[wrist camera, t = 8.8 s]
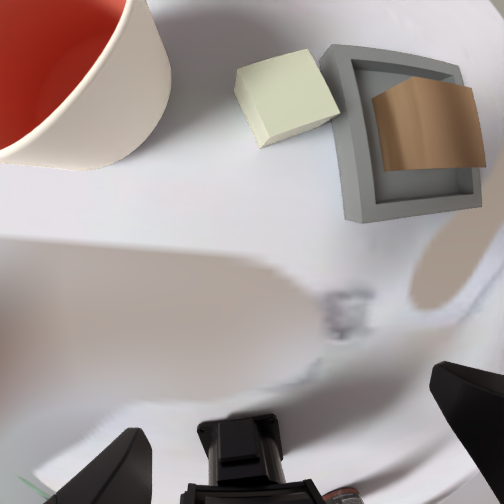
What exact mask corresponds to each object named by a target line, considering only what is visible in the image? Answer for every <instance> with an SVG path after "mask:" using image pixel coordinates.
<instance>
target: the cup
mask: <svg viewBox="0 0 504 504" xmlns="http://www.w3.org/2000/svg"><path fill="white" fill-rule="evenodd" d="M170 90H171V67H170V62H169V59H168V56H167V53H166V51H165V48H164V46H163V43H162V40H161V38H160V35H159V33H158V30H157V28H156V25H155V22H154V20H153V17H152V15H151V12H150V9H149V7H148V4H147V2H146V0H0V164H13V165H25V166H36V167H46V168H56V169H65V170H74V171H88V170H94V169H99V168H102V167H106V166H108V165H111V164H113V163H115V162H117V161H119V160H121V159H123V158H124V157H126V156H127V155H128V154H130V153H131V152H133V151H134V150H135V149H136V148H137V147H139V146H140V145H141V144H142V143H143V142H144V141H145V140H146V138H147V137H148V136H149V135H150V134H151V132H152V131H153V130H154V128H155V127H156V125H157V124H158V122H159V120H160V118H161V117H162V115H163V113H164V110H165V108H166V105H167V102H168V99H169V95H170Z"/></svg>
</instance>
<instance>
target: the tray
mask: <svg viewBox="0 0 504 504" xmlns="http://www.w3.org/2000/svg"><path fill="white" fill-rule="evenodd" d="M319 63H320V67H321V71H322V76H323V78H324V80H325V82H326V84H327V86H328V88H329V90H330V92H331V94H332V96H333V99H334V101H335V103H336V105H337V107H338V109H339V111H340V114H338V115H337V116H335V117H333V118H332V119H331V121H332V127H333V133H334V139H335V145H336V151H337V158H338V165H339V172H340V180H341V188H342V197H343V206H344V215H345V219H346V220H350V221H354V222H358V223H362V224H364V223H371V222H377V221H384V220H391V219H398V218H405V217H412V216H419V215H426V214H433V213H440V212H447V211H455V210H462V209H469V208H477V207H482V196H481V182H480V171H479V167H476V168H444V169H421V170H402V171H387V172H384V167H383V160H382V153H381V147H380V141H379V135H378V129H377V124H376V119H375V113H374V109H373V104H372V98H374V97H375V96H377V95H379V94H381V93H383V92H385V91H386V90H388V89H390V88H392V87H394V86H396V85H398V84H399V83H401V82H403V81H405V80H407V79H409V78H411V77H413V76H414V77H421V78H427V79H432V80H437V81H443V82H447V83H452V84H457V85H461V86H464V83H463V80H462V76H461V73H460V69H459V66H457V65H454V64H450V63H446V62H442V61H439V60H435V59H430V58H426V57H422V56H417V55H412V54H407V53H401V52H396V51H390V50H383V49H376V48H368V47H359V46H349V45H336V44H332V45H331V46H330V47H329V48H328V50H327V51H326V52H325V53H324V54H323V56H322V57H321V58H320V59H319Z"/></svg>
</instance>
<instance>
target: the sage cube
mask: <svg viewBox="0 0 504 504" xmlns="http://www.w3.org/2000/svg"><path fill="white" fill-rule="evenodd" d="M234 94H235V96H236V98H237V101H238V103H239V105H240V107H241V109H242V111H243V113H244V116H245V118H246V120H247V122H248V124H249V126H250V129H251V131H252V133H253V135H254V138H255V140H256V142H257V144H258V146H259V149H261V148H263V147H266V146H268V145H271V144H273V143H276V142H279V141H281V140H284V139H287V138H289V137H292V136H295V135H298V134H300V133H303V132H306V131H309V130H312V129H315V128H317V127H319V126H321V125H322V124H324V123H325V122H327V121H328V120H330V119H332V118H333V117H335V116H337V115H338V114H340V111H339V109H338V107H337V105H336V103H335V101H334V99H333V96H332V94H331V92H330V90H329V88H328V86H327V84H326V82H325V80H324V78H323V76H322V74H321V72H320V70H319V68H318V66H317V65H316V63H315V61H314V59H313V57H312V55H311V53H310V52H309V50H308V49H305V50H300V51H296V52H292V53H288V54H284V55H280V56H277V57H273V58H270V59H266V60H263V61H259V62H256V63H253V64H250V65H247V66H244V67H241V68H238V69H237V74H236V81H235V88H234Z"/></svg>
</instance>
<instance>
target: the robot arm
mask: <svg viewBox="0 0 504 504" xmlns="http://www.w3.org/2000/svg"><path fill="white" fill-rule="evenodd" d="M429 387H430V391H431V393H432V395H433V397H434V398H435V400H436V402H437V404H438V406H439V407H440V409H441V411H442V413H443V415H444V417H445V419H446V420H447V422H448V424H449V425H450V427H451V428H452V430H453V431H454V433H455V434H456V436H457V437H458V439H459V440H460V441H461V443H462V444H463V446H464V447H465V449H466V450H467V452H468V453H469V455H470V456H471V458H472V459H473V461H474V462H475V464H476V465H477V467H478V469H479V470H480V472H481V473H482V475H483V476H484V478H485V479H486V481H487V483H488V484H489V486H490V487H491V489H492V490H493V492H494V494H495V496H496V497H497V499H498V500H499V502H500V504H504V375H501V374H496V373H492V372H488V371H483V370H479V369H475V368H471V367H467V366H463V365H459V364H455V363H451V362H447V361H442V362H440V363H438V364H436V365H434V367H433V369H432V374H431V379H430V384H429ZM271 419H273V420H271ZM202 429H205V430H202ZM197 433H198V435H199V438H200V440H201V443H202V445H203V448H204V450H205V452H206V455H207V457H208V460H209V485H196V484H192V483H188V490H187V491H185V493H184V494H181V497H180V504H326V503H325V501H324V499H323V498H322V496H321V494H320V493H319V491H318V490H317V488H316V486H315V485H314V483H313V481H312V480H311V479H307V480H303V481H299V482H290V483H286V481H285V477H284V473H283V469H282V465H281V461H282V460H283V454H282V447H281V440H280V433H279V426H278V420H277V417H276V415H274V414H268V415H263V416H257V417H251V418H244V419H238V420H230V421H222V422H214V423H204V424H199V425H198V426H197ZM151 498H152V448H151V445H150V443H149V441H148V439H147V437H146V436H145V434H144V432H143V430H142V429H141V428H127V429H126V430H125V431H124V432H122V433H121V434H120V435H119V436H118V437H117V438H116V439H115V440H114V441H113V442H112V443H111V444H110V445H109V446H108V447H106V448H105V449H104V450H103V451H102V452H101V453H100V454H99V455H98V456H97V457H96V458H95V459H93V460H92V461H91V462H90V463H89V464H88V465H87V466H86V467H85V468H84V469H82V470H81V471H80V472H79V473H78V474H77V475H76V476H75V477H74V478H72V479H71V480H70V481H69V482H68V483H67V484H66V485H64V486H63V487H62V488H61V489H60V490H59V491H58V492H56V494H54V495H53V496H52V497H51V498H49V499H48V500H47V501H46V502H45V503H43V504H151Z"/></svg>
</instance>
